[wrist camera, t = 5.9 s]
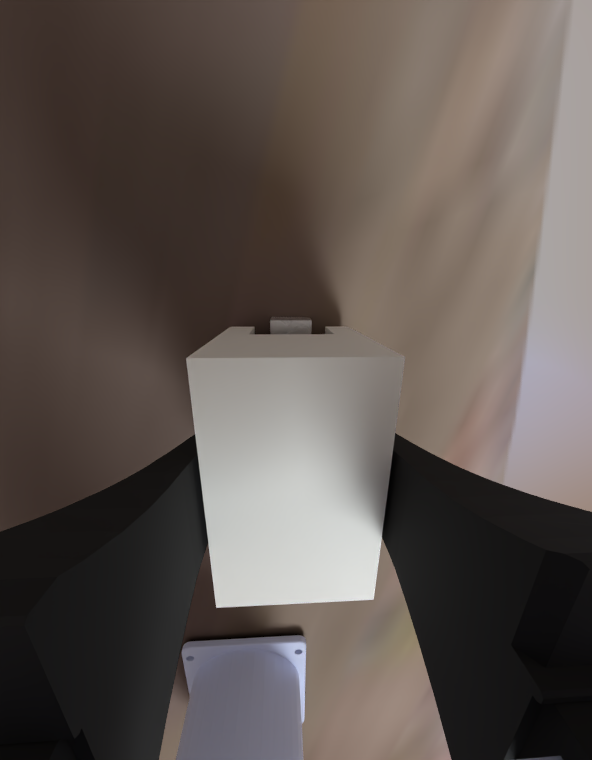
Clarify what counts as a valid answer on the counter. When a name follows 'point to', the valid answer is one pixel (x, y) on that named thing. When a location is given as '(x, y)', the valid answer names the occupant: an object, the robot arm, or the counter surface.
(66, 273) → the counter surface
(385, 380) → the cabinet block
